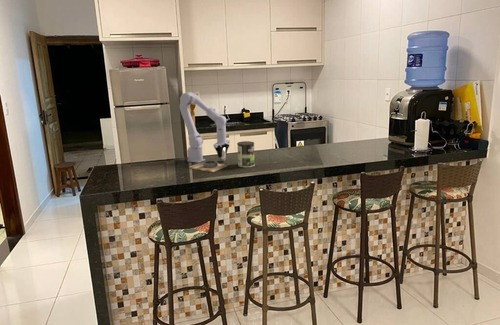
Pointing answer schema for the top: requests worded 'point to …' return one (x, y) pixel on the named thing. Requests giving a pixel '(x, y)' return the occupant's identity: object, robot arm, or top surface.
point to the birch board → (200, 167)
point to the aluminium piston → (223, 154)
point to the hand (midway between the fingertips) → (222, 156)
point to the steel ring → (210, 164)
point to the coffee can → (245, 154)
